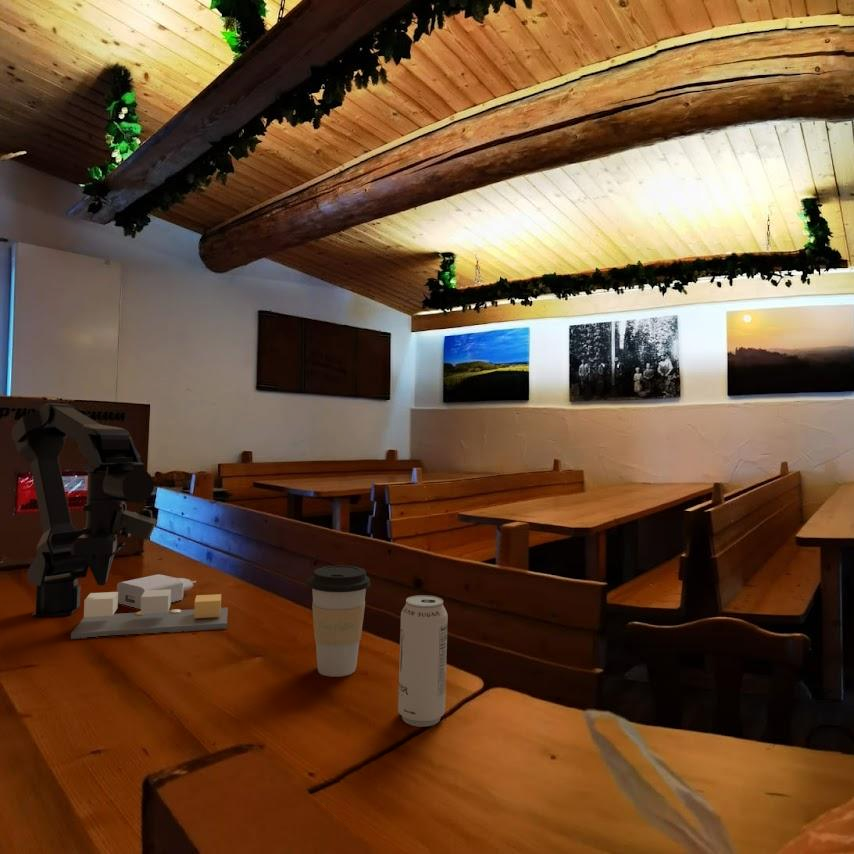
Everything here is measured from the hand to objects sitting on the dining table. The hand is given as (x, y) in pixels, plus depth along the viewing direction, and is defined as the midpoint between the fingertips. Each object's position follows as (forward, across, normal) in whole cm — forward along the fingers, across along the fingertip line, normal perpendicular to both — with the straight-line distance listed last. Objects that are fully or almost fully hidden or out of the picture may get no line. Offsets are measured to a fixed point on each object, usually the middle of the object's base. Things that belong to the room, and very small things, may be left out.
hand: (101, 585), depth 106 cm
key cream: (+5, 0, 0) cm, 5 cm away
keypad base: (+8, 0, -9) cm, 12 cm away
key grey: (+5, 0, -9) cm, 10 cm away
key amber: (+6, 0, -18) cm, 19 cm away
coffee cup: (+8, -28, -38) cm, 48 cm away
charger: (+8, +18, -8) cm, 21 cm away
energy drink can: (+8, -46, -46) cm, 66 cm away
